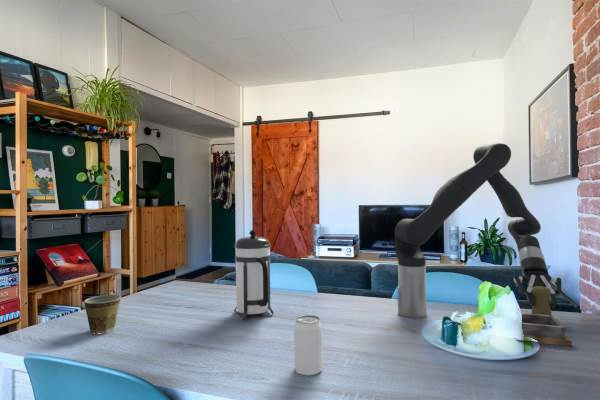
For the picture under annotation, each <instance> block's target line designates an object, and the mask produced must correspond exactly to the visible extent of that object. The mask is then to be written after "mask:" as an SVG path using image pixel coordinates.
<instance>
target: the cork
mask: <svg viewBox="0 0 600 400" xmlns="http://www.w3.org/2000/svg"><path fill="white" fill-rule="evenodd" d="M531 293H532V295H533V299H534V306H531V307H532V309H531V313H530V314H539V315H551V316H553V315H552V309H551V308H552V307H551V304H550V300H549V297H550V295H551V291H550V289H549V288H547V287H543V286H535V287H533V288H532V290H531Z"/></svg>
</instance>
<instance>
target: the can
mask: <svg viewBox="0 0 600 400" xmlns="http://www.w3.org/2000/svg"><path fill="white" fill-rule="evenodd" d="M320 320H321V319H320V318H319V317H318V316H317V315H314V314H310V315H309V314H305V315H300V316H297V317H296V318H295V323H294V328H293V330H294V331H293V335H294V336H293V340H294V341H293V342H294V343H293V344H294V345H293V346H294V348H293V349H294V350H293V351H294V357H293V358H294V370H295V372H296V373H298V374H299V375H301V376H304V377H314V376H317V375H319V374H320V373H321V371H322V369H323V342H322V340H323V337H322V336H323V335H322V334H323V333H322V332H323V329H322V328H323V327H322V323H321V322H320Z"/></svg>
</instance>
